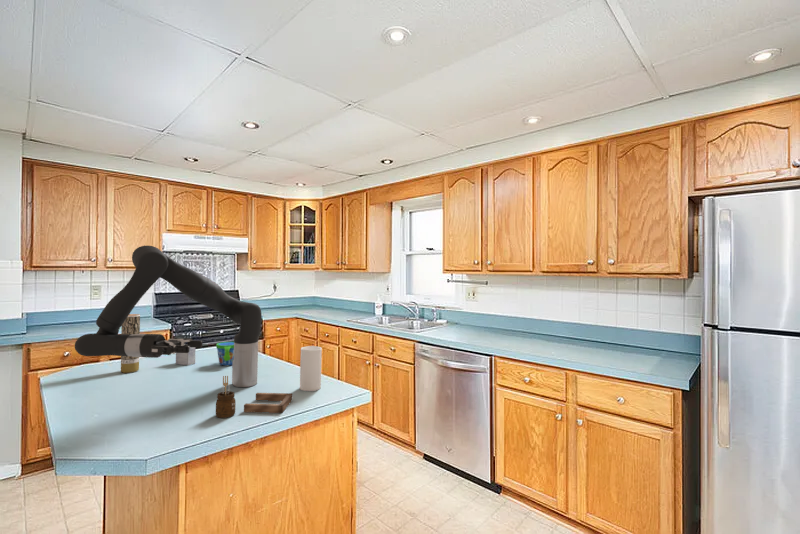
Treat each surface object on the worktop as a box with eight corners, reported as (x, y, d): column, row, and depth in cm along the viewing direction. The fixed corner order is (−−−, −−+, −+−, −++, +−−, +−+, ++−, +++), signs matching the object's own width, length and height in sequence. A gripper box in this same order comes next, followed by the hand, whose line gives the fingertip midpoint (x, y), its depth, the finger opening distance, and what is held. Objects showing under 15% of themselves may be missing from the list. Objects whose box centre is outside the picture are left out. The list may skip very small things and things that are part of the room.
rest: (243, 412, 135) (243, 404, 135) (256, 399, 148) (257, 392, 148) (282, 412, 135) (282, 405, 135) (292, 400, 148) (292, 393, 148)
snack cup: (219, 360, 203) (219, 340, 203) (241, 360, 205) (242, 340, 205) (212, 368, 187) (212, 346, 187) (236, 368, 190) (237, 346, 190)
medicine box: (195, 363, 196) (196, 345, 196) (188, 365, 192) (188, 347, 192) (183, 362, 199) (183, 344, 199) (175, 364, 195) (175, 346, 195)
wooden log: (126, 369, 183) (127, 313, 183) (142, 369, 184) (143, 314, 184) (117, 373, 176) (118, 315, 176) (133, 373, 177) (134, 316, 177)
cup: (315, 392, 158) (316, 350, 158) (296, 390, 159) (297, 349, 159) (323, 385, 166) (324, 346, 166) (305, 384, 168) (306, 345, 167)
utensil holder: (216, 419, 128) (216, 381, 128) (214, 413, 134) (215, 376, 133) (236, 416, 131) (237, 379, 131) (234, 410, 136) (235, 374, 136)
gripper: (131, 337, 125) (184, 339, 125) (158, 330, 139) (206, 331, 139) (130, 362, 125) (184, 363, 125) (158, 352, 139) (205, 353, 139)
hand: (195, 346), depth 132 cm, fingers open, 8 cm apart
